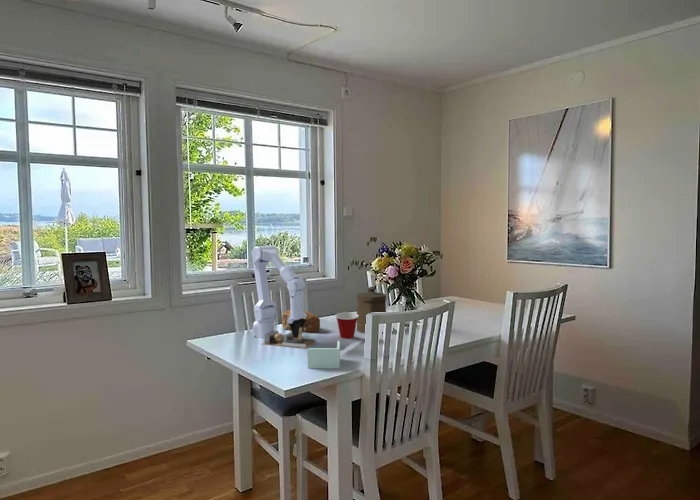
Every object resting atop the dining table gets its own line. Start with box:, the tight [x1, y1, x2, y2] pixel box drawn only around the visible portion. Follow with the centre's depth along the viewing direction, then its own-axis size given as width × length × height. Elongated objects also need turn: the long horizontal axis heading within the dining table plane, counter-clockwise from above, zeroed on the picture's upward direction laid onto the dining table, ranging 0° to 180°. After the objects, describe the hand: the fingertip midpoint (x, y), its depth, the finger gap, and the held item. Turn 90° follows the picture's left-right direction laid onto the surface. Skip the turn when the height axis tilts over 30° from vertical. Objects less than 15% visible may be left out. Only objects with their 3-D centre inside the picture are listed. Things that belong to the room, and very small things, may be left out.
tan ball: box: [274, 332, 284, 343], centre depth 222 cm, size 4×4×4 cm
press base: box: [261, 330, 318, 350], centre depth 220 cm, size 22×12×6 cm, turn 68°
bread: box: [281, 309, 321, 334], centre depth 251 cm, size 19×11×10 cm, turn 45°
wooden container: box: [356, 286, 387, 334], centre depth 249 cm, size 15×15×22 cm
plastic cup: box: [335, 311, 358, 339], centre depth 230 cm, size 11×11×12 cm
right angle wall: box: [306, 340, 341, 369], centre depth 194 cm, size 12×12×8 cm
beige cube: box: [283, 327, 305, 344], centre depth 219 cm, size 7×7×7 cm
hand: (297, 336), depth 218 cm, fingers closed on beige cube, 3 cm apart
